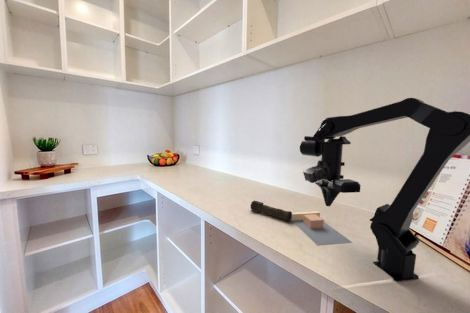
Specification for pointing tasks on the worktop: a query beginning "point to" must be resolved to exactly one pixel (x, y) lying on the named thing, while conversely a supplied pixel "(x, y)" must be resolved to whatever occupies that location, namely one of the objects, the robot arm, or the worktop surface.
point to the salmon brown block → (313, 221)
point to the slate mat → (319, 231)
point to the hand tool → (271, 211)
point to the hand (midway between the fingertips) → (327, 205)
